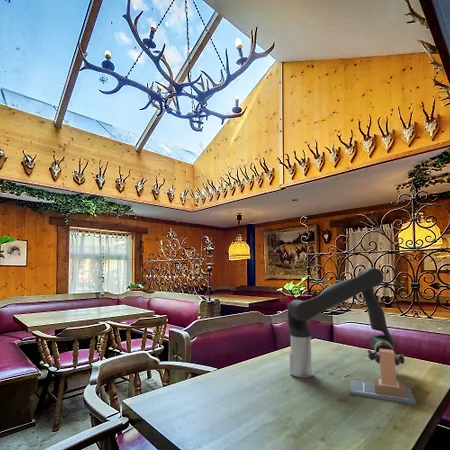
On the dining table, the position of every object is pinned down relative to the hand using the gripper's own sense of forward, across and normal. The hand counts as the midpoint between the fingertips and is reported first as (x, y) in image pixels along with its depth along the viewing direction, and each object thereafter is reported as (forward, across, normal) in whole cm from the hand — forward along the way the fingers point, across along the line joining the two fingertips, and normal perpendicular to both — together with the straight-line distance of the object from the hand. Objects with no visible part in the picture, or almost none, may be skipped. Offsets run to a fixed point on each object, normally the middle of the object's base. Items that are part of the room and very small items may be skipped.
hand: (387, 361), depth 118 cm
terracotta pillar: (-2, 0, +8) cm, 9 cm away
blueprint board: (-2, -3, +12) cm, 13 cm away
